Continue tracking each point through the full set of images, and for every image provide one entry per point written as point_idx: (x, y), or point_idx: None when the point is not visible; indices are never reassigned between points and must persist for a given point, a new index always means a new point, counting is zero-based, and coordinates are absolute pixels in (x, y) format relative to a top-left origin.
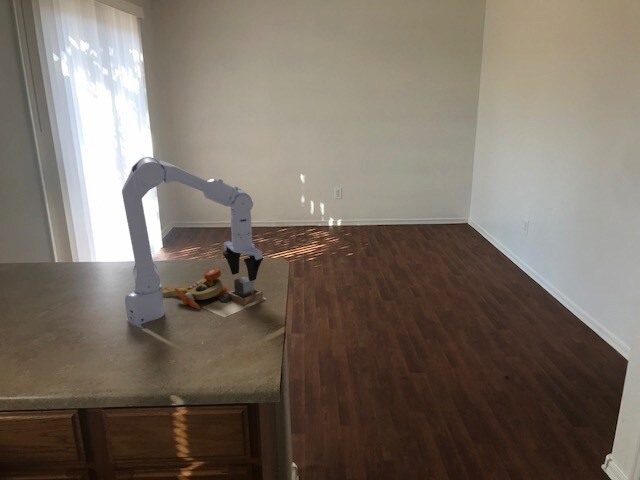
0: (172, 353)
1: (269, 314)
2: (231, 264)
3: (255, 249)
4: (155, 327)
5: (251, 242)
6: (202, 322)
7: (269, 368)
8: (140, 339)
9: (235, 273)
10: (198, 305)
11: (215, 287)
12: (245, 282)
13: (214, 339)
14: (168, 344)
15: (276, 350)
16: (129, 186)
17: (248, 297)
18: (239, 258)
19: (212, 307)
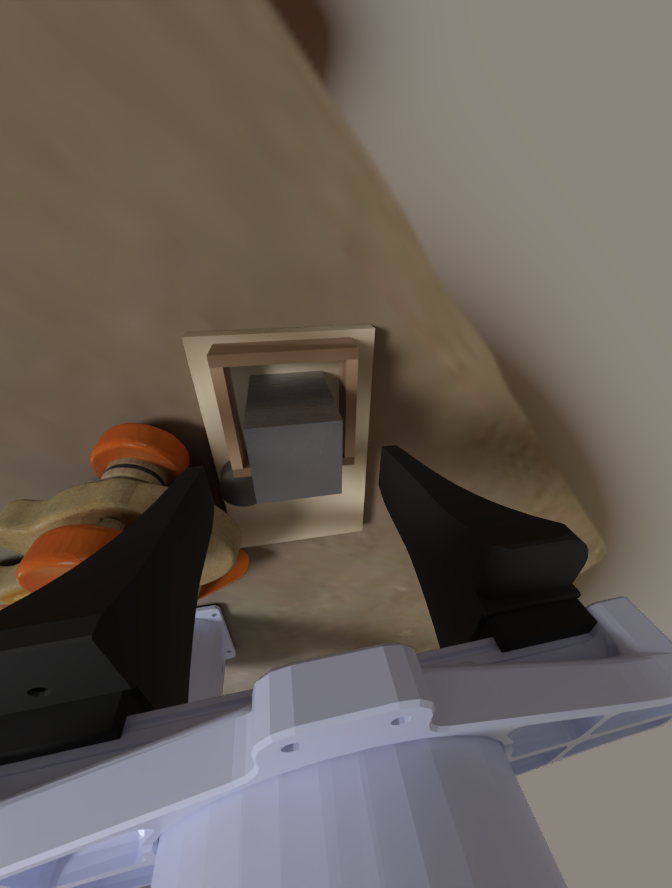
0: (383, 629)
1: (457, 400)
2: (196, 582)
3: (561, 697)
4: (249, 633)
5: None
6: (315, 561)
7: (586, 542)
8: (281, 655)
9: (210, 493)
10: (244, 572)
11: (215, 550)
12: (338, 477)
13: (414, 570)
14: (347, 628)
15: (576, 503)
16: None
17: (354, 440)
18: (159, 543)
19: (266, 528)
